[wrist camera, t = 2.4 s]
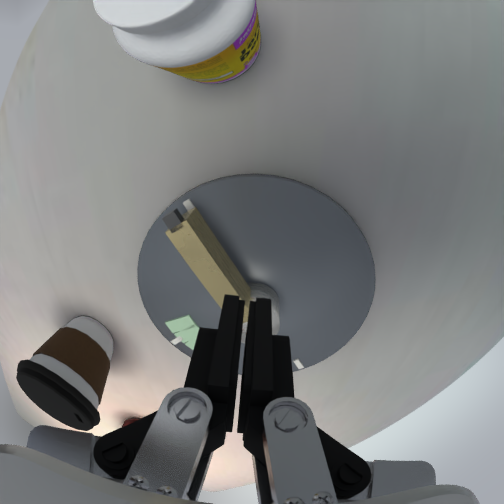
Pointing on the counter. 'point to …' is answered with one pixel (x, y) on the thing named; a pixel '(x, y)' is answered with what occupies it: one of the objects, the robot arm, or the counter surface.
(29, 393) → the coffee cup
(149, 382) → the counter surface
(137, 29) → the supplement bottle
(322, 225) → the dial
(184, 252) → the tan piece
